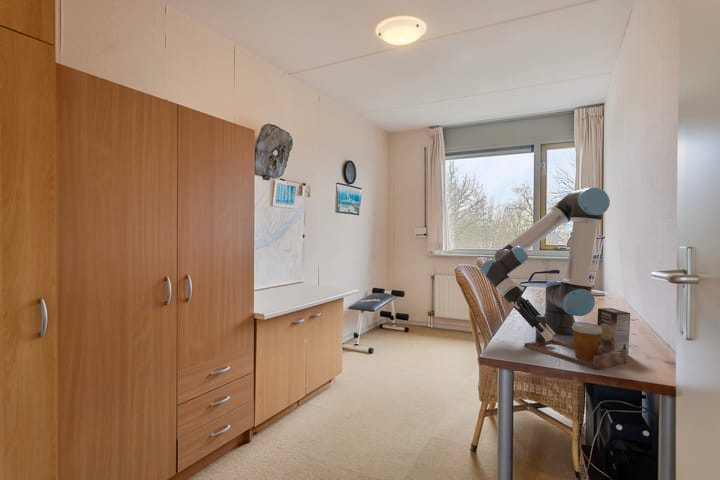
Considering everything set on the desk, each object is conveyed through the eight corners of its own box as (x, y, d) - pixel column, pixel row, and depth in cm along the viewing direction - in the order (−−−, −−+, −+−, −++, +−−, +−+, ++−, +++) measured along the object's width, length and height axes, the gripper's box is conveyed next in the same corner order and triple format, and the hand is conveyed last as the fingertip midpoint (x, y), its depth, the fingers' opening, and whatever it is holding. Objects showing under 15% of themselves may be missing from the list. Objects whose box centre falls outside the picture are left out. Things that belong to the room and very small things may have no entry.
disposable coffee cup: (606, 363, 129) (607, 329, 129) (576, 361, 131) (577, 327, 131) (594, 355, 138) (596, 323, 138) (566, 353, 140) (567, 321, 140)
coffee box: (595, 348, 147) (596, 307, 146) (609, 348, 148) (610, 307, 147) (614, 356, 138) (616, 312, 137) (629, 355, 139) (631, 312, 138)
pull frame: (549, 340, 156) (550, 313, 156) (626, 362, 131) (627, 330, 131) (522, 345, 148) (523, 317, 148) (597, 369, 123) (599, 336, 122)
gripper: (510, 294, 167) (549, 338, 156) (495, 298, 154) (537, 347, 143) (522, 283, 163) (563, 327, 153) (509, 287, 150) (552, 336, 140)
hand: (550, 337), depth 148 cm, fingers open, 4 cm apart
